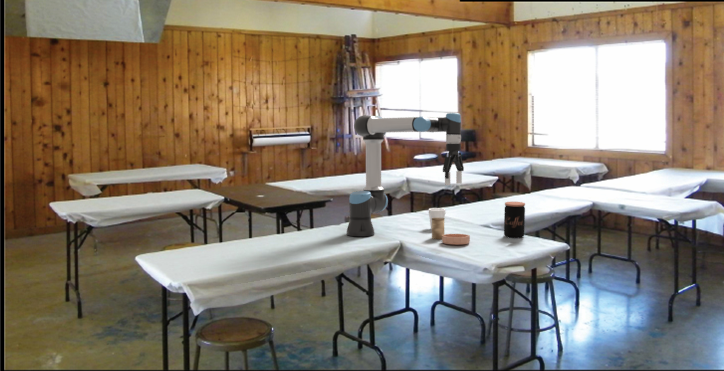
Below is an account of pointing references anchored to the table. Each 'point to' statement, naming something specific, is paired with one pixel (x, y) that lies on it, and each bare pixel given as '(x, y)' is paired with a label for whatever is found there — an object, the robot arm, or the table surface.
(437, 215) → the foam cup
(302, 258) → the table surface
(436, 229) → the canister
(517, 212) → the coffee jar
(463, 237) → the bowl
